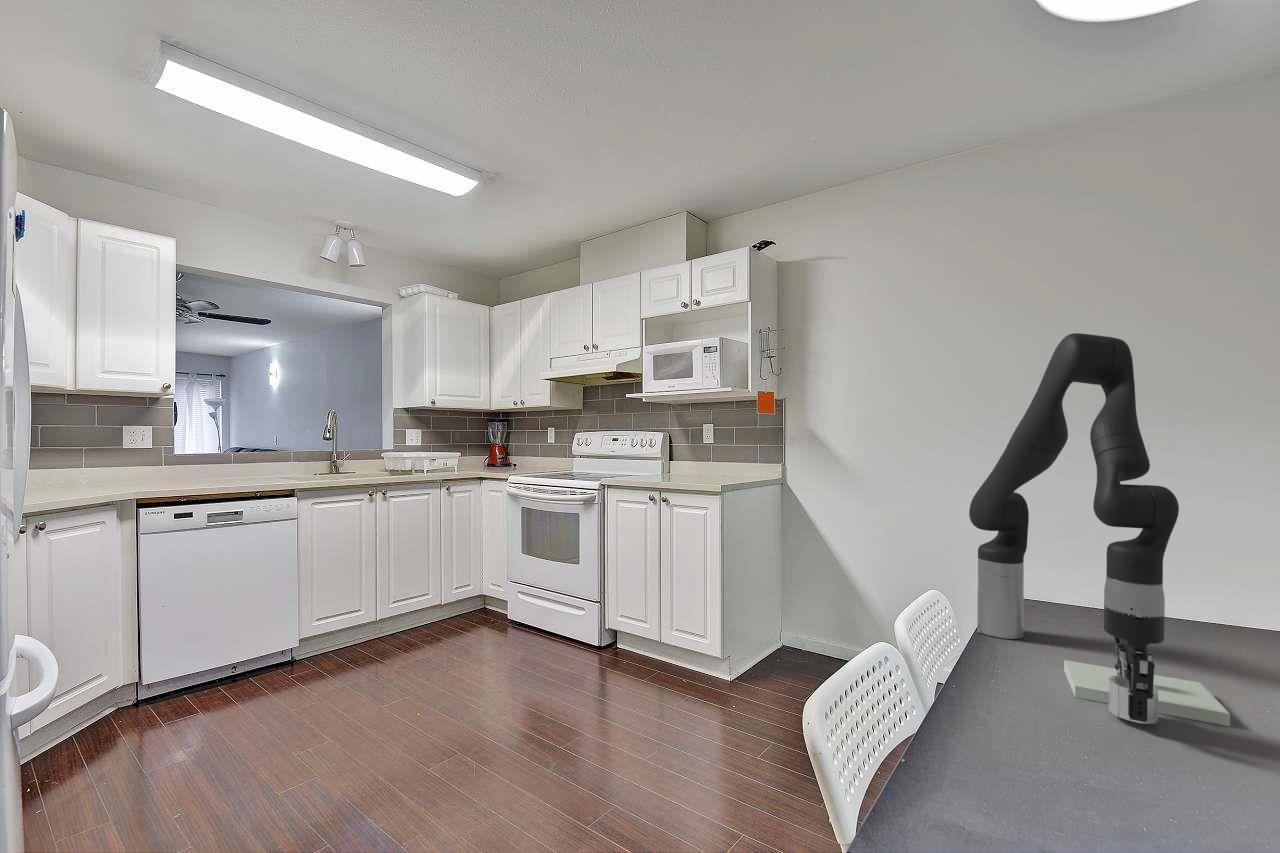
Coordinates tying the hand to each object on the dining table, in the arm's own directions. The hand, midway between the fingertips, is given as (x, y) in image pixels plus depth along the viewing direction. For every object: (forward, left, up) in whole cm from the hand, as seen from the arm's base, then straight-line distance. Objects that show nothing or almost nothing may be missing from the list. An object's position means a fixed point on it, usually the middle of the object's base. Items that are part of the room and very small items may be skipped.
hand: (1132, 710), depth 95 cm
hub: (0, 0, -1) cm, 1 cm away
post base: (+3, +13, -2) cm, 13 cm away
